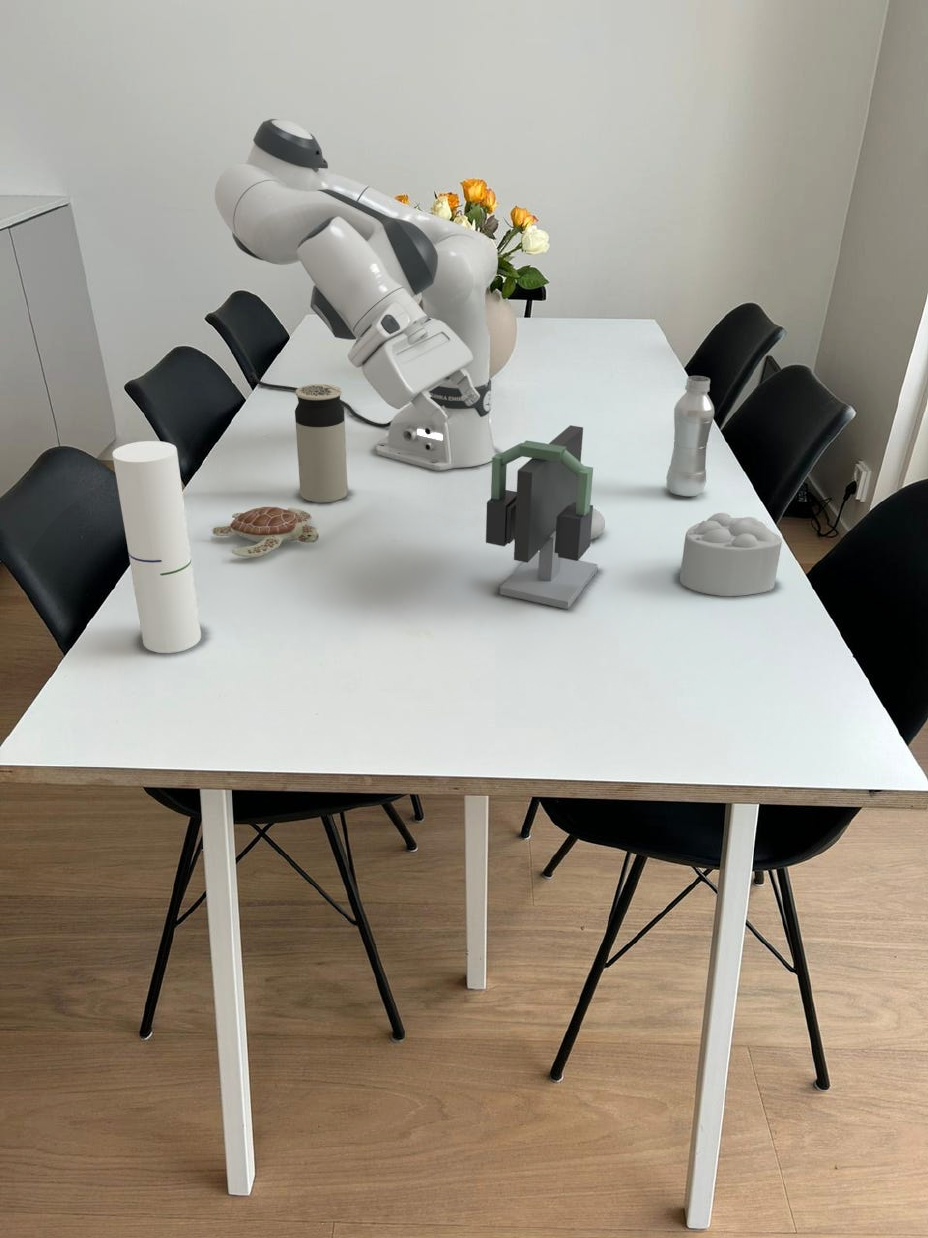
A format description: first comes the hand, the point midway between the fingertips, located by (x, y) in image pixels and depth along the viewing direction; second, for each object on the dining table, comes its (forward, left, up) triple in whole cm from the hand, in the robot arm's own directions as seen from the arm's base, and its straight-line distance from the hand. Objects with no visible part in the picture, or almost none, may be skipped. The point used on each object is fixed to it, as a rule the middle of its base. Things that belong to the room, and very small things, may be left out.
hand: (460, 411), depth 134 cm
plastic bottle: (+22, +46, -24) cm, 56 cm away
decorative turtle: (-31, -1, -24) cm, 40 cm away
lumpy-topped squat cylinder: (+35, +16, -24) cm, 45 cm away
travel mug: (-33, +18, -24) cm, 45 cm away
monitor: (+12, +4, -24) cm, 27 cm away
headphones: (+12, 0, -17) cm, 21 cm away
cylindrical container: (-25, -32, -24) cm, 48 cm away
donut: (+10, +22, -24) cm, 34 cm away
